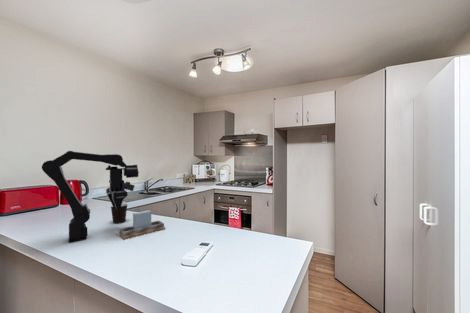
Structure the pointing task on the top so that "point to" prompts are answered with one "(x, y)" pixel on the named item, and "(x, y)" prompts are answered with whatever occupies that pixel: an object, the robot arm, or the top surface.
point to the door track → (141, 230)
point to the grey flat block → (141, 219)
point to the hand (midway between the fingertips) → (116, 208)
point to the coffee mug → (119, 214)
